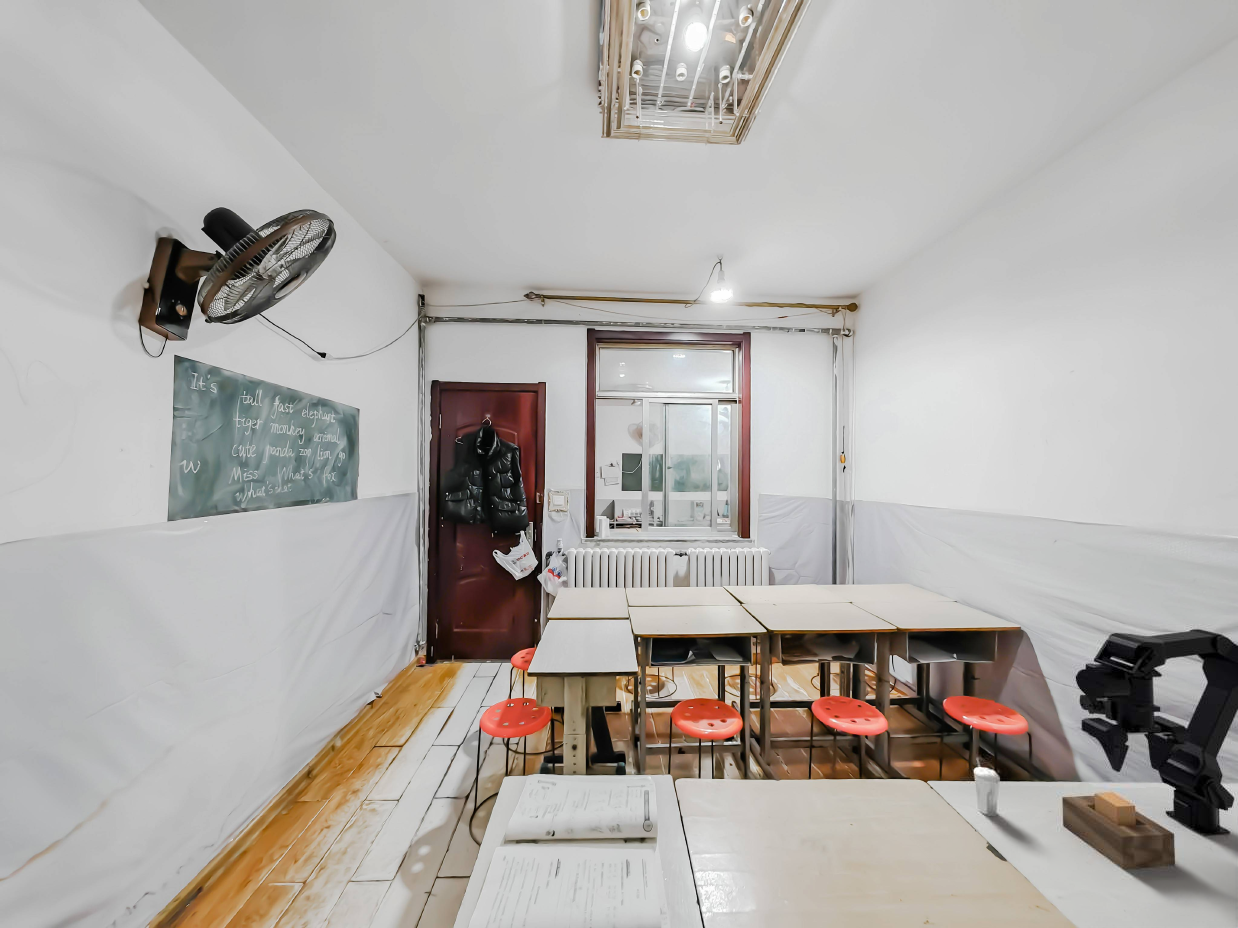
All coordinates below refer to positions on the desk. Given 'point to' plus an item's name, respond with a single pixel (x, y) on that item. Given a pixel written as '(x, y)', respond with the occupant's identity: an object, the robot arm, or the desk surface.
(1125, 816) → the peg
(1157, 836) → the socket
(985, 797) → the milkshake
